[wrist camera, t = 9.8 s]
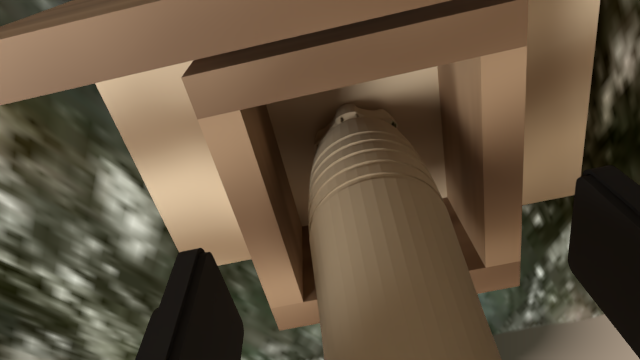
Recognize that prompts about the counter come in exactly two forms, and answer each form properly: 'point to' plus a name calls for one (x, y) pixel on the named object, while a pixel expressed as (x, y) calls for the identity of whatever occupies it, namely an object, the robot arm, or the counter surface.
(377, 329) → the handle
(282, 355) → the counter surface
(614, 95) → the counter surface
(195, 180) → the wooden box holder
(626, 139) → the counter surface
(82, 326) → the counter surface
